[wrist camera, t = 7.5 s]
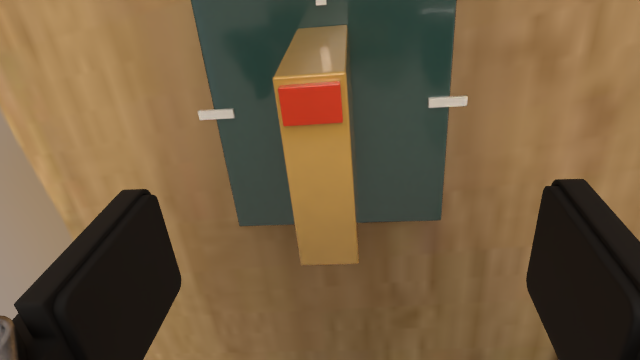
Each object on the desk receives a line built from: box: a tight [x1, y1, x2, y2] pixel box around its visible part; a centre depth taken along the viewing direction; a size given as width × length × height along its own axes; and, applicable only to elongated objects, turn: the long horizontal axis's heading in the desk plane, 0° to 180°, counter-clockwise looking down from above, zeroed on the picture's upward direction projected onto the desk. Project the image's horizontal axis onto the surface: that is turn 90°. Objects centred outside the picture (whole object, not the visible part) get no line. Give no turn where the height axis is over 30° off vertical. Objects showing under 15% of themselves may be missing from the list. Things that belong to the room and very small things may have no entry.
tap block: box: [191, 0, 468, 226], centre depth 18 cm, size 11×10×3 cm
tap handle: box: [272, 25, 359, 266], centre depth 14 cm, size 6×2×6 cm, turn 5°
